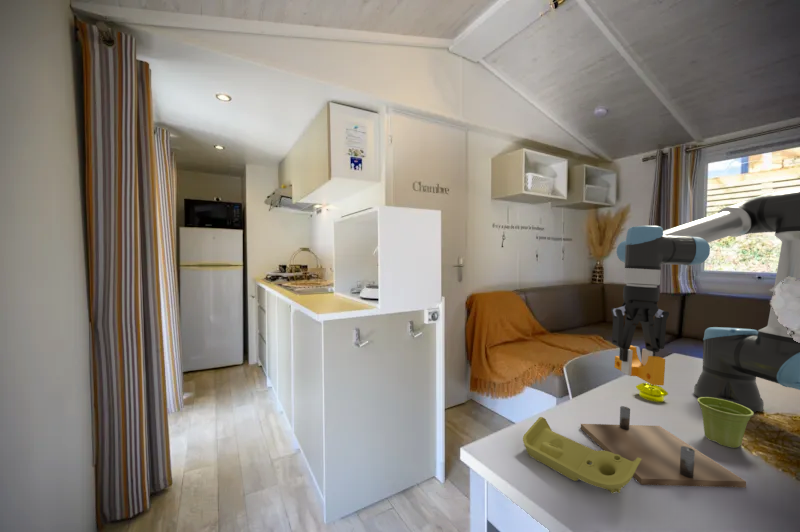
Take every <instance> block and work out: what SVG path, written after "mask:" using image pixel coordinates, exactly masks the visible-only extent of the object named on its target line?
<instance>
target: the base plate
mask: <svg viewBox="0 0 800 532" xmlns="http://www.w3.org/2000/svg"><path fill="white" fill-rule="evenodd" d="M619 426H620V424H608V423H607V424H606V423H605V424H603V423H602V424H601V423H599V424H598V423H597V424H596V423H580V429H581V431H583V432H584V433H585V434H586V435H587V436H588V437H589V438H590V439H591V440H592V441H594V442H595V443H596V444H597V445H598V446H599V447H600V448H601V449H602V450H603V451H609V452H612V453H614V454H618V455H620V456H621V457H623V458H625V459H628V460H630V461H634V460H636V459H637V457H638V458H641V459H642V460H641V461H640V463H639V465H638V467H637V469H636V471H635V473H634V475H633V477H632V479H634V480H637V481H636V482H637V483H639V484H640V485H642V486H671V487H672V486H674V487H708V488H709V487H710V488H716V487H717V488H747V481H746V480H745V479H743V478H742V477H740V476H738V475H737V474H735V473H734V472H732V471H731V470H729V469H728V468H726V467H725V466H723V465H721V464H720V463H718V462H717V461H715V460H713V459H712V458H710V457H709V456H707V455H705V454H703V453H702V452H701V451H699V450H698V449H696V448H695V447H693V446H692V445H690V444H689V443H688V442H685V441H684V440H682V439H681V438H679V437H678V436H676V435H674V434H673V433H671V432H670V431H668V430H666V428H664V427H662V426H660V425H646V424H645V425H643V424H642V425H641V424H630V425H629V430H624V429H621V428H620V427H619ZM682 446H685V447H689V448H691V449H693V450H694V451H695V458H694V477H693V478H688V477H685V476H683V475H681V474H680V456H681V447H682Z"/></svg>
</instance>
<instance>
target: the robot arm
mask: <svg viewBox="0 0 800 532" xmlns="http://www.w3.org/2000/svg"><path fill="white" fill-rule="evenodd" d="M761 233H774V236H775V237H776V238H777V239H778V240H780V241H781V246H780V253H779V256H778V257H779V258H778V263H777V264H778V265H777V269H776V275H775V280H774V281H775V282H774V287H775V286H776V285H777V284H778V283H779V282H780V281H781V280H783V279H784V278H785V277H788V276H791V277H796V278H800V187H799V188H793V189H787V190H781V191H776V192H775V191H774V192H769V193H764V194H762V195H758V196H755V197H752V198H750V199H749V198H748V199H746V200H744V201H741V202H737V203H735V204H732V205H729V206H725V207H723V208H722V209H721V208H720V210H718V211H717V212H716V213H715V214H712V215H708V216H706V217H703V218H699V219H696V220H693V221H690V222H686V223H684V224H681V225H677V226H674V227H671V228H667V229H664V228H663V227H662V226H659V225H637V226H631V227H629V228H628V230H627V231H626V237H625V240H623V241H621V242H620V243H619V244H618V245H617V247H616V256H617V258H618V260H620V262H623V263H624V271H623V272H624V274H623V275H624V276H623V278H624V279H623V283H624V284H626V285H624V286H623V289H622V291H623V292H622V299H623V303H622V304H621V306H619V307H616V308H615V307H611V310H610V311H611V312H610V313H611V315H612V333H611V334H612V336H611V337H612V340H611V344H612V345H613V346H617V347H618V348H619V355H618V356H619V359H620V360H621V361H622V367H621V371H620V372H621V373H623V374H625V375H626V376H628V377H632V376H631V370H632V353H633V351H632V350H630V349H629V348H630V345H632V341H633V338H634V334H635V331H636V328H637V326H638V325H639V323H640V325H641V329H642V333H643V334H642V335H643V341H644V346H645V348H642V350H641V361H640V362H641V363H642V364H643V365H644V366H645V364H646V363H647V361H648V356H656V353H658V352H660V350H664V349H665V346H666V345H665V344H666V343H665V342H666V330H667V329H666V328H667V320H668V318H669V316H670V312H669V311H666V310H662V309H660V308H659V306H658V302H659V300H660V291H661V290H660V288H659V287H658V286H660V285H661V272H662V271H661V270H662V265H676V266H677V265H682V266H696V265H697V266H698V265H700V264H702V263H704V262H706V261H707V259H708V258H709V256H710V254H711V246H710V244H709V243H712V242H715V241H718V240H721V239H724V238H727V237H732V238H733V237H734V238H735V237H736V238H737V237H741V236H745V235H749V234H761ZM783 281H784V280H783ZM795 281H797V280H795ZM799 281H800V280H799ZM781 282H782V281H781ZM783 283H784V282H782V284H783ZM774 287H773V288H774ZM773 295H774V292H773V293H772V296H773ZM624 316H625V318H624ZM786 333H787V328H786V327H784V326H782V325H781V324H780V323H779V322H778V320H777V316H776V315H775V313H774V311H773V309H772V307H771V306H770V311H769V316H768V321H767V325H766V326H765V327H763V328H760V329H758V330H757V329H753V328H752V329H751V328H741V327H740V328H739V327H722V326H721V327H718V326H713V327H707V328H706V329H705V330H704V335H703V338H702V341H703V343H702V345H703V346H702V371H701V373H700V375H699V377H698V380H697V381H696V383H695V385H694V387H693V394H694V395H695V397H697V398H700V397H712V398H718V399H723V400H727V401H731V402H734V403H737V404H740V405H742V406H745V407H747V408H749V409H750V410H752V411H753V413H756V411H760V412H763V410H764V405H765V404H764V399H762V397H761V394H760V389H759V387H758V385H757V378H759V379H762V380H766V381H769V382H772V383H775V384H779V385H781V386H782V387H784V388H785V387H786V388H790V389H794V390H798V391H800V343H798V342H796V341H794V340H793V338H792V337H791V336H790V335H787V334H786ZM789 334H790V333H789ZM791 334H793V332H791Z"/></svg>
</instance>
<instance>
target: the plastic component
mask: <svg viewBox="0 0 800 532" xmlns="http://www.w3.org/2000/svg"><path fill="white" fill-rule="evenodd" d="M522 442H523V445H524V447H525V450H526V452H527V455H529V456H530V458H533V459H535V460H536V461H538V462H540V463H541V464H543V465H545V466H547V467H549V468H550V469H552V470H554V471H556V472H558V473H559V474H561V475H563V476H565V477H567V478H568V479H570V480H572V481H573V482H578V480H580V481H582V482H584V483H586V484H588V485H591V486H595V487H597V488H601V489H607V491H609V492H610V494H615V493H618V494H620V493H621V490H622V489H623V488H624V486H626V485H628V484H629V483H630V481H632V479H633V475H634V473H635V471H636V469H637V467H638V465H639V463H640V461H641V460H642V459H641V458H638V457H637V459H636V460H634V461H630V460H628V459H625V458H623V457H621V456H620V455H618V454H614V453H612V452H609V451H604V450H603V449H602V450H595V449H593V448H591V447H589V446H586V445H584V444H582V443H580V442H577V441H576V440H572V439H571V438H568V437H566V436H564V435H562V434H559V433H557V432H555V431H554V430H552V428H551V427H550V425H549V422H548V421H547V419H546V418H545V417H542V416H539V417H538V418H537V420H536V421H535V422H534V423H533V424H532V425H531V426H530V427H529V429H528V430H527V431H526V432H525V433H524V434H523V435H522Z"/></svg>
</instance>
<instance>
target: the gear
mask: <svg viewBox="0 0 800 532" xmlns="http://www.w3.org/2000/svg"><path fill="white" fill-rule="evenodd" d="M635 387H636V389H637V390H638V391H639V394H638V396H639V397H640V398H643V399H645V400H647V401H649V402H650V401H651V402H656V403H663V402H664V401H665V397H666V396H667V395H669V393H668V391H667V390H665V389H664V388H663V387H661V386H660V385H652V384H650V383H648V382H641V383H639V384H637V385H636V386H635Z"/></svg>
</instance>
